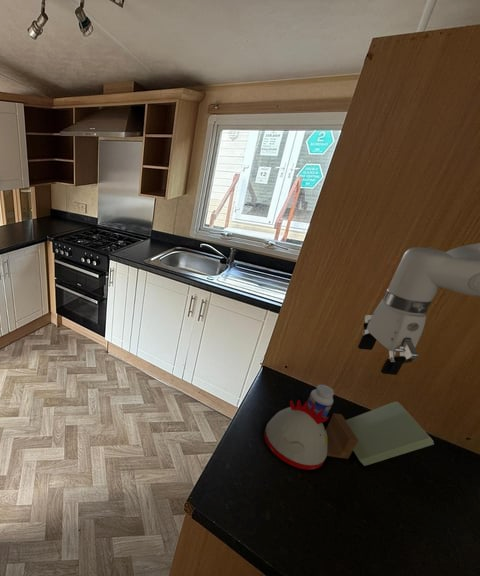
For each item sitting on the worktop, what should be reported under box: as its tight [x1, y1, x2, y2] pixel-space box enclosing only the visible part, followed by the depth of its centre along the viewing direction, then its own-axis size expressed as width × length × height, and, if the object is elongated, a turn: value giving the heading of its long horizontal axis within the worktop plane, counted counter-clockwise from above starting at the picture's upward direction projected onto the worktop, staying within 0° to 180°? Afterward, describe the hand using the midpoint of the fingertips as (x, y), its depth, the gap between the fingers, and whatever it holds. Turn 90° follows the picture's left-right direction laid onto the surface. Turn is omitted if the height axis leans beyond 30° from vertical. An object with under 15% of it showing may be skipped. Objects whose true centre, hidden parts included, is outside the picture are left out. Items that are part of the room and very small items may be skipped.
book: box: [345, 400, 435, 467], centre depth 78 cm, size 15×11×2 cm
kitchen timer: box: [263, 399, 330, 471], centre depth 79 cm, size 14×14×15 cm
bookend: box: [325, 413, 358, 460], centre depth 81 cm, size 5×8×7 cm, turn 170°
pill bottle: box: [307, 384, 335, 418], centre depth 89 cm, size 5×5×10 cm
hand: (375, 360), depth 79 cm, fingers open, 9 cm apart
